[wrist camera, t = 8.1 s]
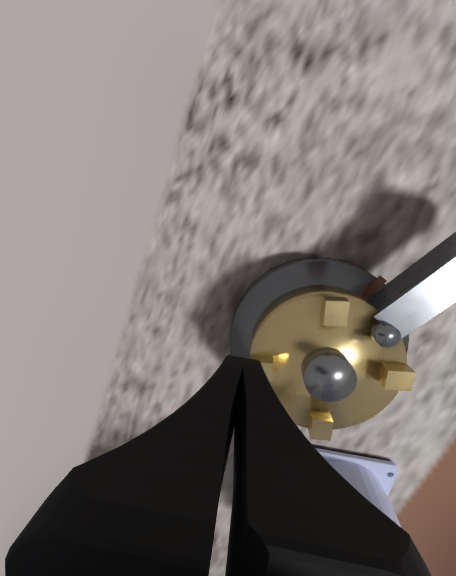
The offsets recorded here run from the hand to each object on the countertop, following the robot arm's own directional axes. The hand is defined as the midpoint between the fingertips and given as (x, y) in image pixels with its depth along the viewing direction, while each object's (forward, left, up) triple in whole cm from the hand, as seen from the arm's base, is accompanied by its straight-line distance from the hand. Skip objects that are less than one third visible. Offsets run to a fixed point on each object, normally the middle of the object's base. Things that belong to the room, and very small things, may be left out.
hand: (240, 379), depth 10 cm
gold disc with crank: (+1, -8, -8) cm, 11 cm away
